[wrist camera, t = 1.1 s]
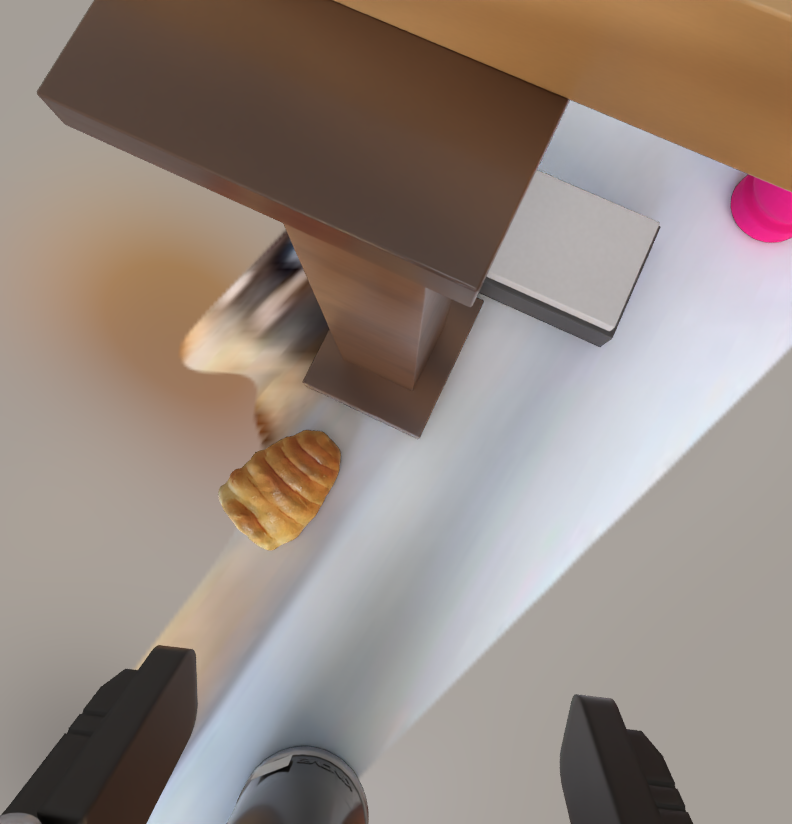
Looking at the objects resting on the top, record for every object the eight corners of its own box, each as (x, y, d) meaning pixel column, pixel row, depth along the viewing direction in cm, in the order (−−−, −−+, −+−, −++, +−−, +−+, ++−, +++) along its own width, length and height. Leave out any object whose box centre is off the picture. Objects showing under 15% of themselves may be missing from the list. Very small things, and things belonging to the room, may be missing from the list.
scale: (600, 347, 43) (617, 335, 39) (397, 256, 44) (397, 236, 41) (646, 241, 44) (667, 219, 41) (448, 155, 45) (452, 128, 42)
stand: (418, 439, 42) (477, 291, 10) (305, 385, 43) (33, 92, 11) (481, 306, 43) (701, -179, 12) (370, 257, 44) (297, -329, 12)
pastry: (304, 411, 42) (295, 404, 39) (363, 472, 42) (360, 470, 38) (216, 495, 41) (198, 496, 38) (275, 558, 41) (263, 566, 37)
